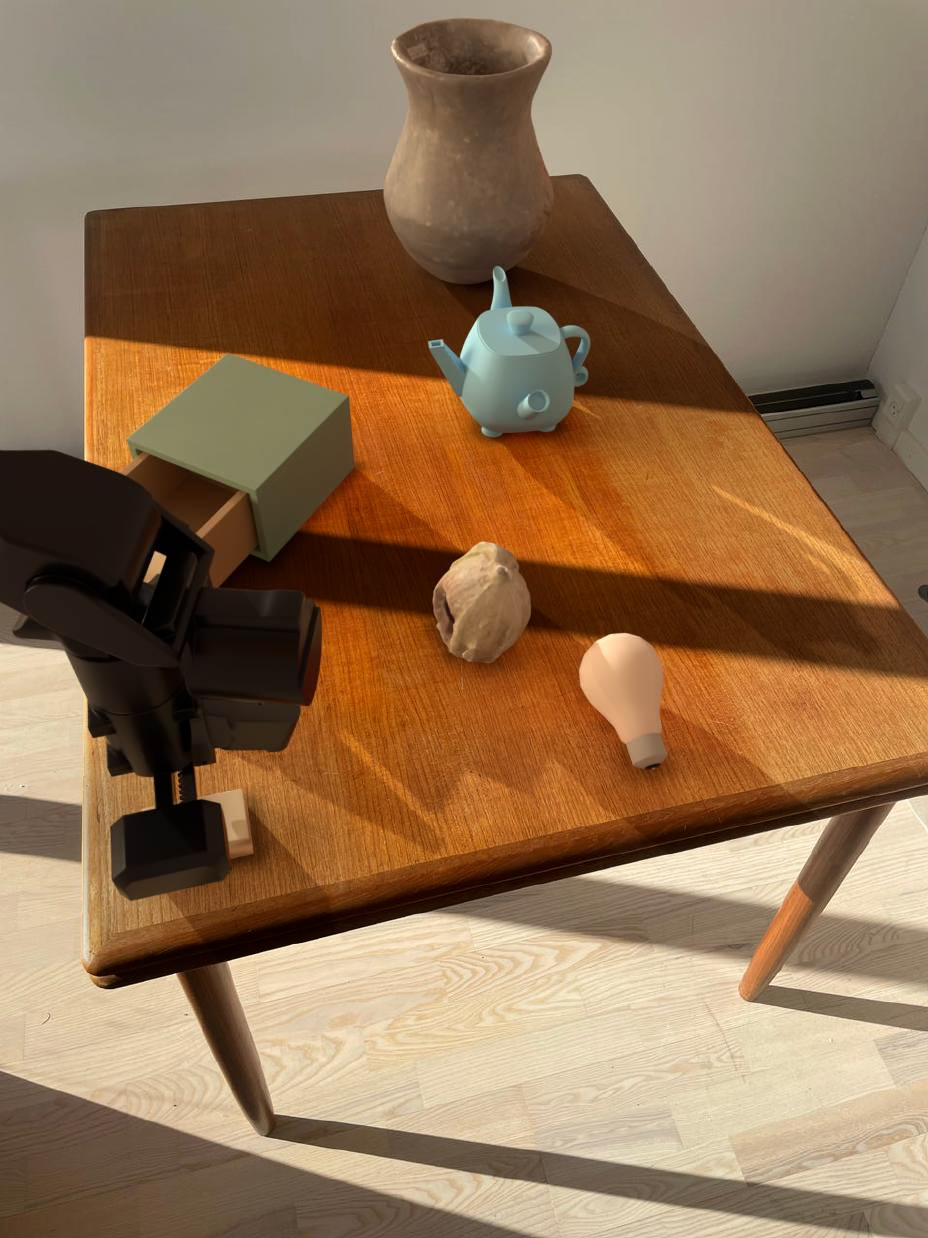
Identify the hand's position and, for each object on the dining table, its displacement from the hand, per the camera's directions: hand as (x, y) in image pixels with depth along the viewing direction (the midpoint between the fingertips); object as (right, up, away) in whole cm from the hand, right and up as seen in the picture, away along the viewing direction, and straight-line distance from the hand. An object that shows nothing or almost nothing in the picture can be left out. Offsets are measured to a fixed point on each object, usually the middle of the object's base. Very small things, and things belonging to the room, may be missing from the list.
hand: (189, 811), depth 66 cm
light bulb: (+31, +5, +11) cm, 33 cm away
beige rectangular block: (0, -3, +3) cm, 4 cm away
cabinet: (-1, +25, +27) cm, 37 cm away
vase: (+19, +56, +54) cm, 80 cm away
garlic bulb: (+20, +11, +16) cm, 28 cm away
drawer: (-7, +19, +20) cm, 28 cm away
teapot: (+23, +35, +36) cm, 55 cm away
